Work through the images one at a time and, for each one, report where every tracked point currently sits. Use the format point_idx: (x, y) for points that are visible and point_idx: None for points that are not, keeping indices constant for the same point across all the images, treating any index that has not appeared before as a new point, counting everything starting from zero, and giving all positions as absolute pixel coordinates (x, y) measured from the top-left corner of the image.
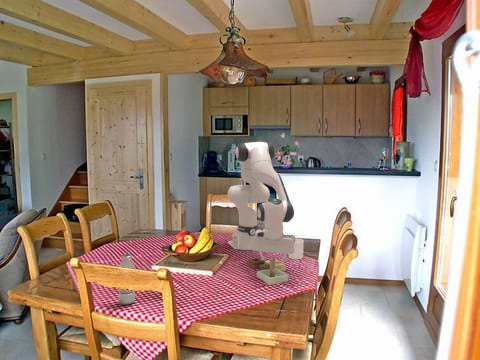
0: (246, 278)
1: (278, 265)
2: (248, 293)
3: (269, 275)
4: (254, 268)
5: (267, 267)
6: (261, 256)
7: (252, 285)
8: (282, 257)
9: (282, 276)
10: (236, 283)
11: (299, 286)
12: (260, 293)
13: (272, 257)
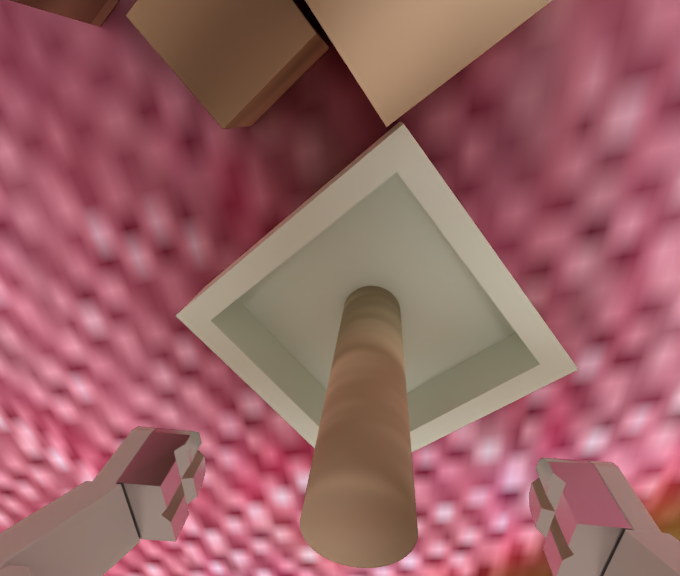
0: (124, 321)
1: (464, 18)
2: (234, 550)
3: (334, 237)
4: (87, 19)
5: (273, 81)
6: (108, 549)
7: (223, 447)
8: (606, 530)
9: (492, 408)
10: (95, 428)
11: (638, 425)
12: (309, 547)
13: (347, 502)
